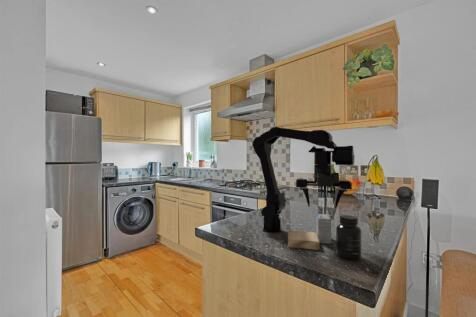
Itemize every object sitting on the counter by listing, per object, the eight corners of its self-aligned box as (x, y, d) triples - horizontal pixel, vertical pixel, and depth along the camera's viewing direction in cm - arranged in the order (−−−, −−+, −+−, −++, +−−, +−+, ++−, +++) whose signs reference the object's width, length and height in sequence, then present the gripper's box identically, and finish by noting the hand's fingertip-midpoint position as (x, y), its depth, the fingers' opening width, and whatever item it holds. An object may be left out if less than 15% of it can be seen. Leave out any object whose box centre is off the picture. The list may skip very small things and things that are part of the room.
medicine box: (331, 244, 77) (331, 219, 77) (318, 243, 78) (318, 218, 78) (327, 236, 84) (327, 214, 85) (315, 235, 85) (315, 213, 86)
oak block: (287, 248, 74) (287, 239, 74) (288, 238, 84) (288, 230, 84) (319, 251, 72) (319, 241, 72) (315, 240, 82) (316, 232, 82)
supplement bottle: (331, 252, 70) (332, 214, 70) (352, 251, 71) (352, 213, 71) (344, 262, 63) (344, 220, 63) (366, 261, 64) (366, 219, 64)
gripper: (296, 164, 76) (296, 210, 76) (356, 165, 71) (356, 214, 71) (296, 164, 87) (295, 204, 87) (347, 165, 82) (347, 207, 82)
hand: (322, 207), depth 81 cm, fingers open, 9 cm apart
